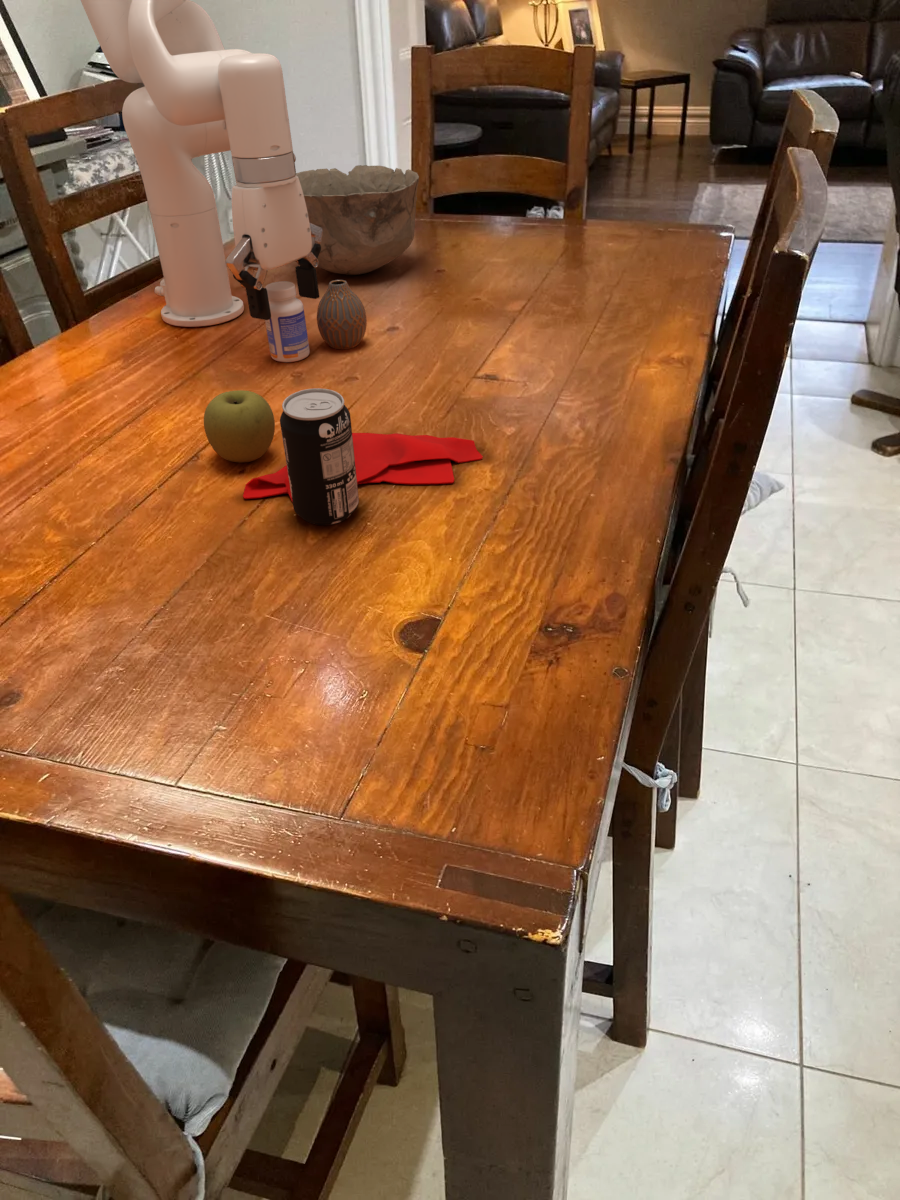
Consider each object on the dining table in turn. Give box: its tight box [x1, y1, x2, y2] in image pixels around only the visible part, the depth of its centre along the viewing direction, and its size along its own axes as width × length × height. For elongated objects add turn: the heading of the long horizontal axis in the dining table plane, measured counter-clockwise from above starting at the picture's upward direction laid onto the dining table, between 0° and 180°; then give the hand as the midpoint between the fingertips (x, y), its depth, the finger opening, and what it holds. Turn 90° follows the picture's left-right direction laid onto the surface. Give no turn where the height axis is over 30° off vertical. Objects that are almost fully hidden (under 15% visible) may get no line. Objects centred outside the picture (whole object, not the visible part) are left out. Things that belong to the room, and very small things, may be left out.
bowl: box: [296, 164, 420, 276], centre depth 157 cm, size 22×22×15 cm
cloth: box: [242, 432, 484, 504], centre depth 102 cm, size 26×14×2 cm, turn 99°
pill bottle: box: [264, 280, 311, 363], centre depth 127 cm, size 5×5×10 cm
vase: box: [316, 279, 368, 350], centre depth 130 cm, size 7×7×9 cm
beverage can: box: [279, 387, 360, 526], centre depth 90 cm, size 7×7×12 cm
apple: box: [203, 389, 276, 463], centre depth 103 cm, size 8×8×7 cm
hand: (285, 307), depth 125 cm, fingers open, 9 cm apart
